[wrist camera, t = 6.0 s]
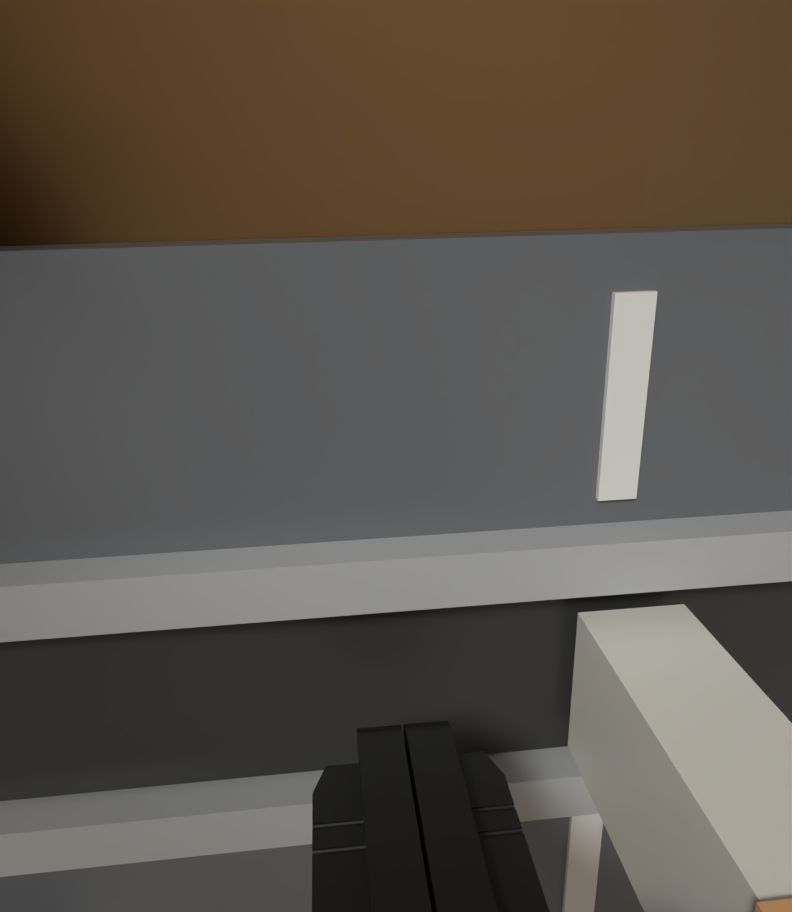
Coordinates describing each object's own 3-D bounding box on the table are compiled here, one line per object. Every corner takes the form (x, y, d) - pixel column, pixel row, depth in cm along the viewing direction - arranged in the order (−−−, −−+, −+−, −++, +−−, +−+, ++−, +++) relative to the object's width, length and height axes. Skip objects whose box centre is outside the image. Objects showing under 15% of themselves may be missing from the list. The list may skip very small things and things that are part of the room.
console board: (-465, 259, 11) (-797, 285, 8) (968, 218, 13) (1185, 224, 10) (-162, 973, 16) (-280, 1165, 13) (813, 860, 19) (919, 1001, 15)
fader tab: (572, 607, 13) (806, 981, 7) (690, 599, 13) (1020, 953, 7) (562, 750, 14) (755, 1181, 8) (670, 739, 14) (939, 1150, 8)
